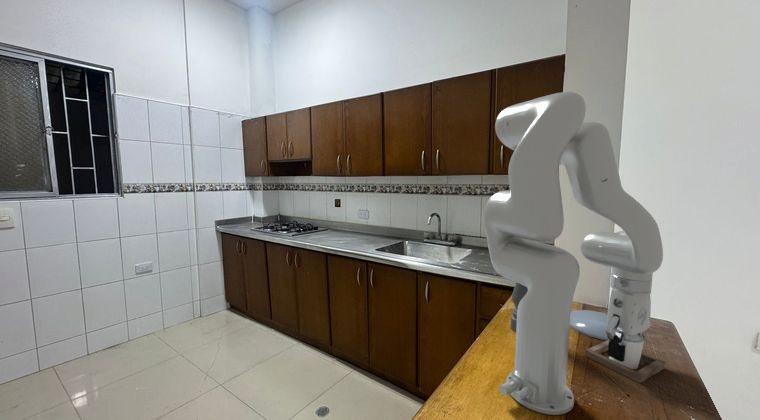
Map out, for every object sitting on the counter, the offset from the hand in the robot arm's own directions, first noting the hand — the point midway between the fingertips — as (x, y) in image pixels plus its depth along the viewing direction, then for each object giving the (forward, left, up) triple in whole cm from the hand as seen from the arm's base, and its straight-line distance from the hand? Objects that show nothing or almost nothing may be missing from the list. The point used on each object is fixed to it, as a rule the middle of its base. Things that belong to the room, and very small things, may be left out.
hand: (624, 353), depth 75 cm
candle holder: (-8, +23, -2) cm, 24 cm away
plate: (+14, +13, -2) cm, 19 cm away
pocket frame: (0, 0, -2) cm, 2 cm away
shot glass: (0, 0, -2) cm, 2 cm away
